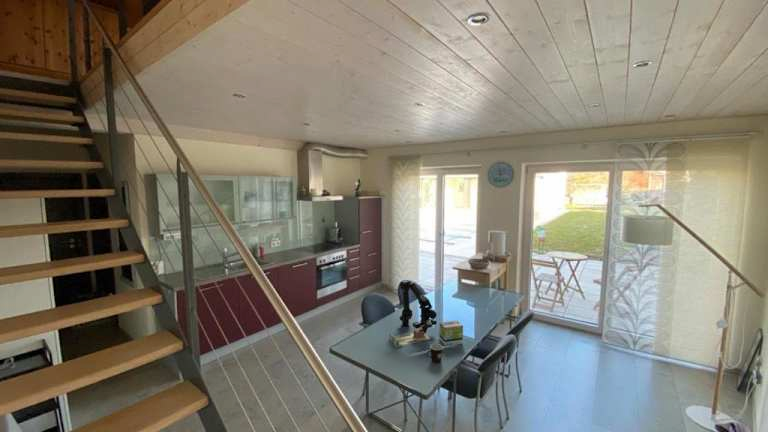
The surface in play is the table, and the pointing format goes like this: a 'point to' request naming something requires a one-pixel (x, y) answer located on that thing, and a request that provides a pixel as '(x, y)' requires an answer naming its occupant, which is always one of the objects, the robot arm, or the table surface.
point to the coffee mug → (436, 352)
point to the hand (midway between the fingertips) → (424, 333)
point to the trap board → (406, 339)
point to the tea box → (451, 333)
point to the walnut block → (418, 333)
